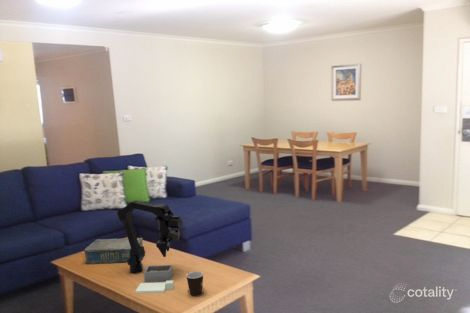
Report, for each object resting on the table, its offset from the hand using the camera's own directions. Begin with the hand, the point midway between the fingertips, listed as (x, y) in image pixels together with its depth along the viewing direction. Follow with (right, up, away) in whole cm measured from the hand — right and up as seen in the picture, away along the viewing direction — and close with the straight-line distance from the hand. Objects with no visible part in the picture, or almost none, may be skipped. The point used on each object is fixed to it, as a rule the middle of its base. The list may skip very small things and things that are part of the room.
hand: (166, 253), depth 241 cm
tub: (-4, -14, -3) cm, 14 cm away
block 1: (-7, -13, -3) cm, 15 cm away
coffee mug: (+20, -15, -21) cm, 32 cm away
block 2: (-1, -13, -3) cm, 13 cm away
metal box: (-39, -11, +36) cm, 54 cm away
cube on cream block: (-3, -16, -16) cm, 22 cm away
